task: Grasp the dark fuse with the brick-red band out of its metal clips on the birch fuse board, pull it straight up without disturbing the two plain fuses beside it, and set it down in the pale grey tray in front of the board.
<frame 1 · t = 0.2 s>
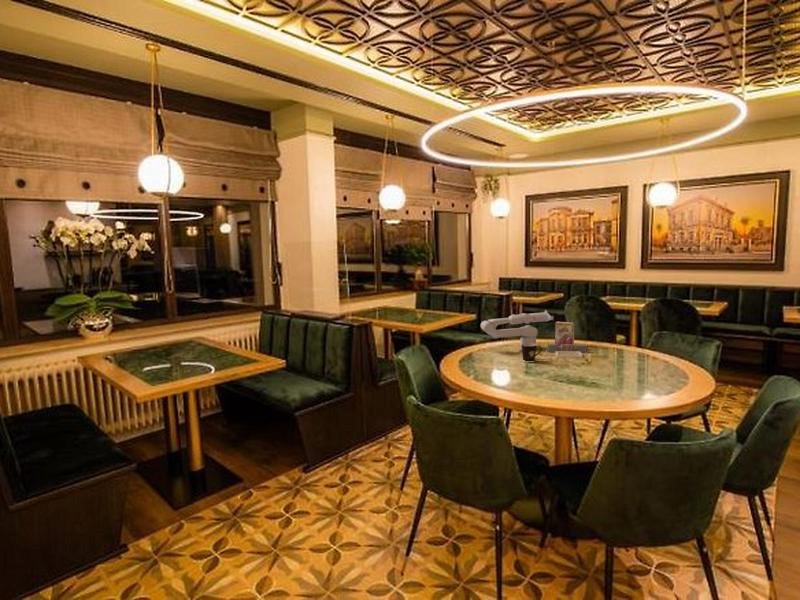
hand: (559, 315, 299), 21 cm above the table, tool horizontal, fingers open, 7 cm apart
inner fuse: (553, 351, 288), point 1 cm above the table, touching fuse board
marked fuse: (566, 352, 286), point 1 cm above the table, touching fuse board
candy bar box: (564, 347, 304), on the table
outer fuse: (580, 352, 285), point 1 cm above the table, touching fuse board
fuse board: (566, 353, 286), on the table
parts tray: (568, 357, 277), on the table
coffee mug: (531, 362, 270), on the table
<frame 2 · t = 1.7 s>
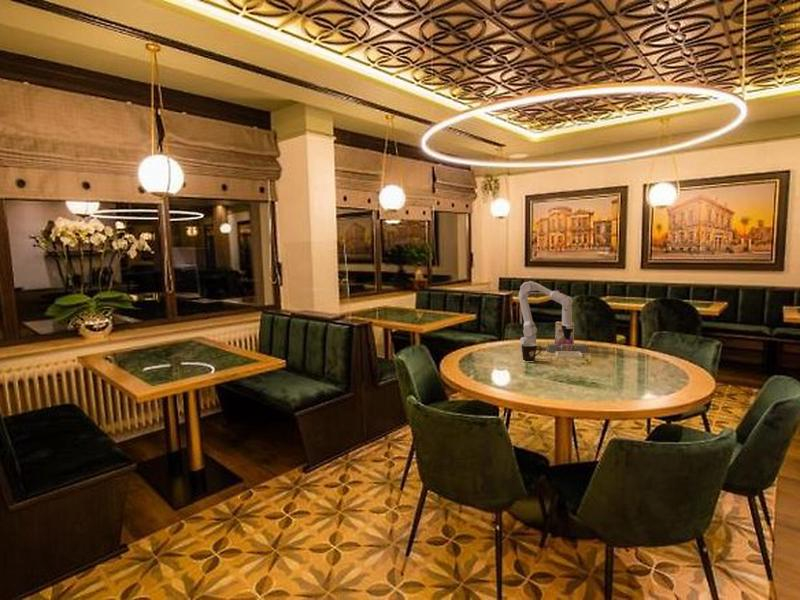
hand: (566, 338, 285), 10 cm above the table, tool pointing down, fingers open, 7 cm apart
nothing on the table moved.
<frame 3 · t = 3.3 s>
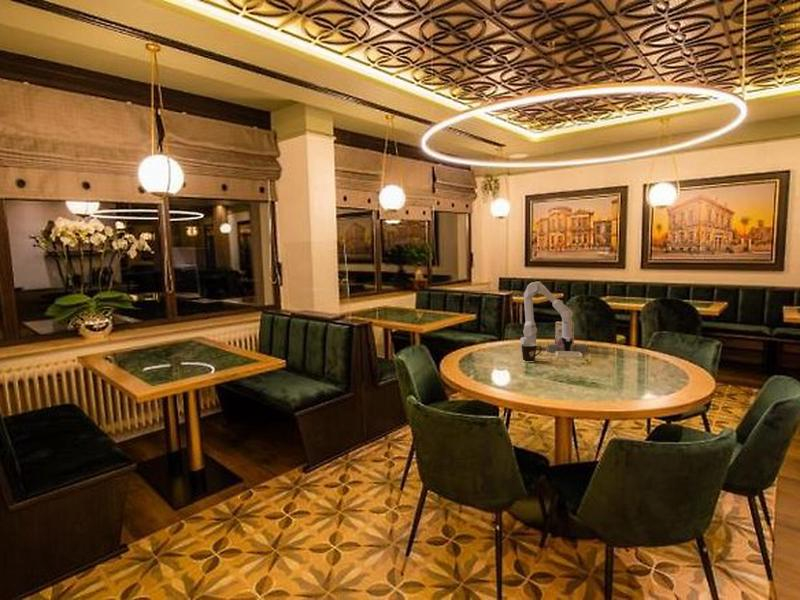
hand: (566, 350, 286), 2 cm above the table, tool pointing down, fingers closed on marked fuse, 4 cm apart
marked fuse: (566, 352, 286), point 1 cm above the table, touching fuse board, gripper
everything else where it was.
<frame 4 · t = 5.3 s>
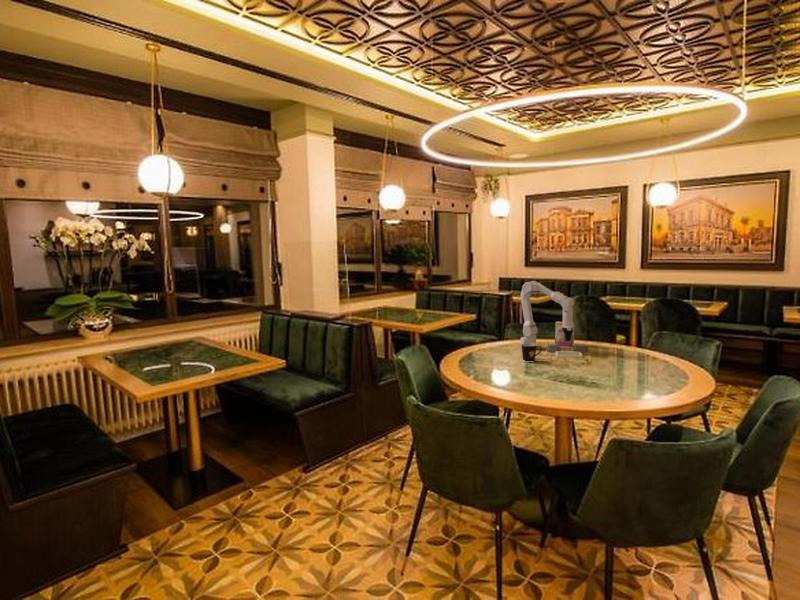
hand: (567, 340, 282), 9 cm above the table, tool pointing down, fingers closed on marked fuse, 4 cm apart
marked fuse: (567, 341, 283), point 8 cm above the table, touching gripper
everything else where it was.
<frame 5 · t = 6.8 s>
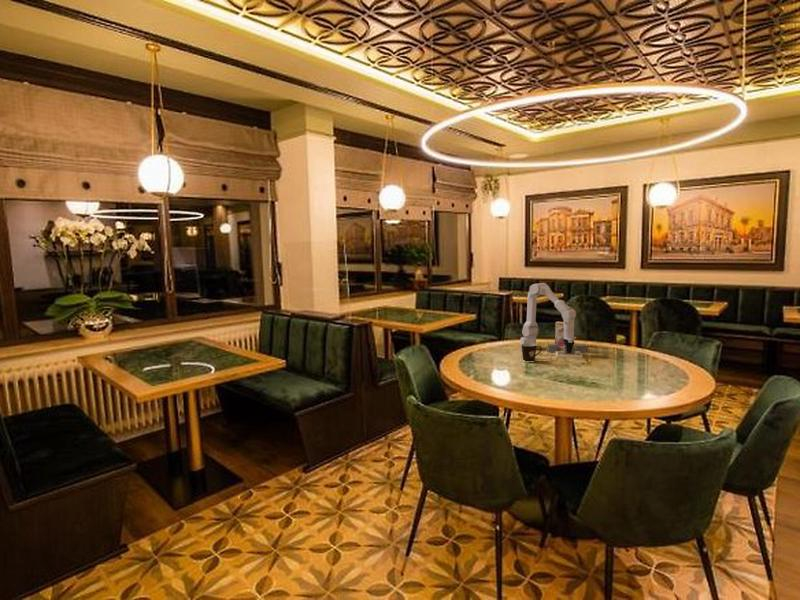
hand: (568, 352, 277), 3 cm above the table, tool pointing down, fingers closed on marked fuse, 4 cm apart
marked fuse: (568, 353, 277), point 2 cm above the table, touching gripper
everything else where it was.
when the fingers open (3 cm above the table, at t = 7.6 s): marked fuse drops 2 cm, resting on parts tray.
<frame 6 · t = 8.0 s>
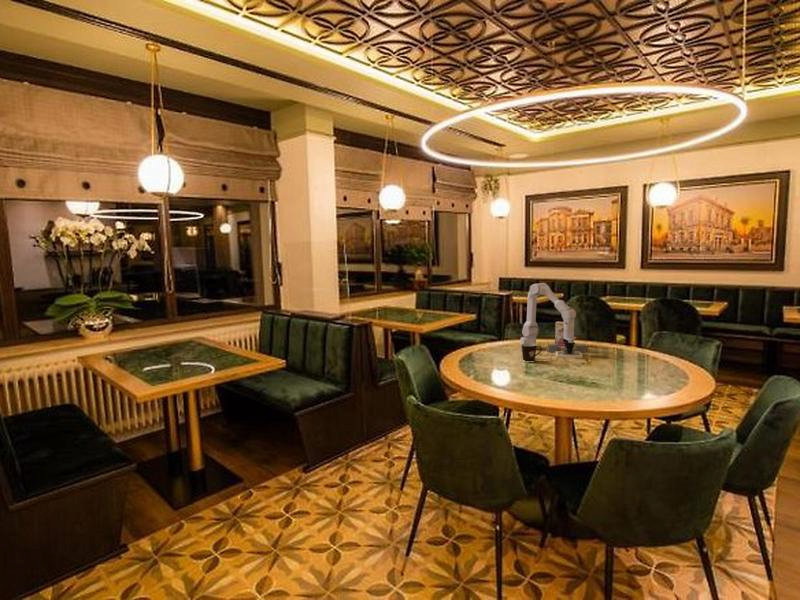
hand: (568, 352, 277), 3 cm above the table, tool pointing down, fingers open, 7 cm apart
marked fuse: (568, 356, 277), point 1 cm above the table, touching parts tray
everything else where it was.
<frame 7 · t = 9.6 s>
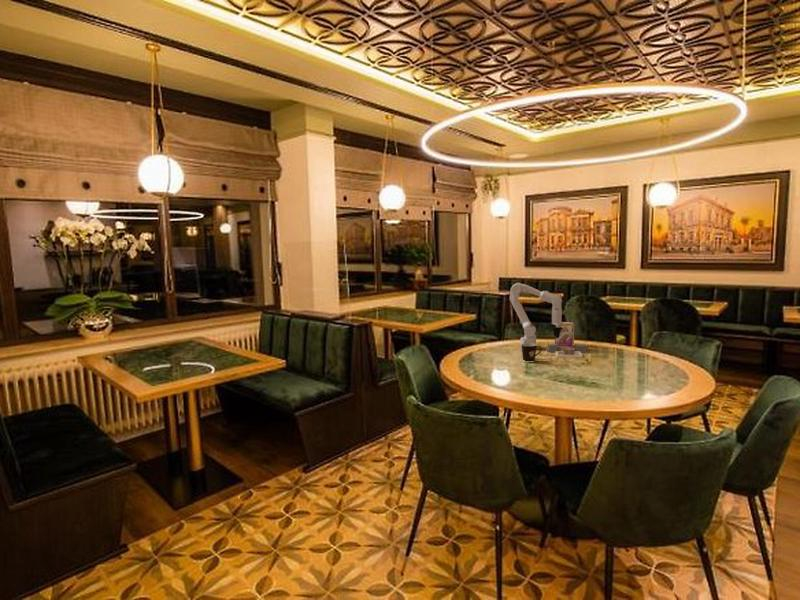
hand: (556, 336, 292), 9 cm above the table, tool pointing down, fingers open, 7 cm apart
nothing on the table moved.
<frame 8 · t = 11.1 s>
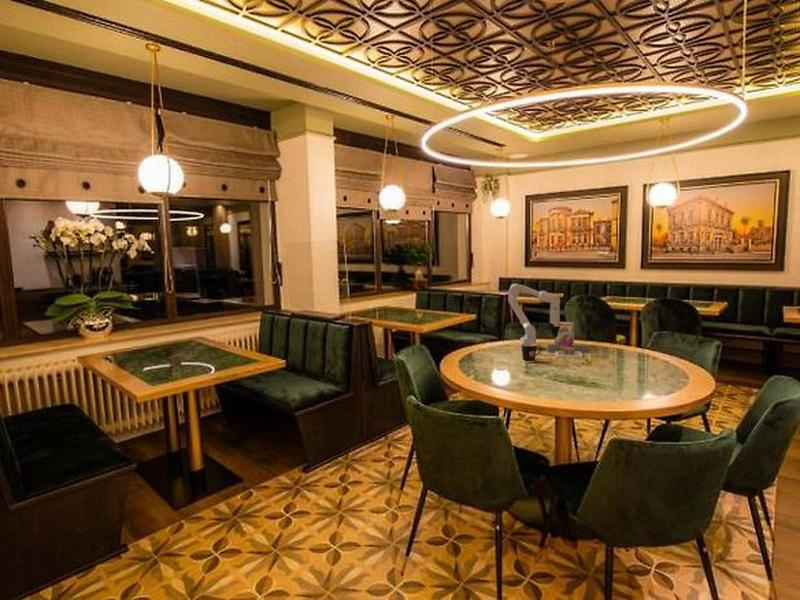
hand: (554, 335, 295), 9 cm above the table, tool pointing down, fingers open, 7 cm apart
nothing on the table moved.
at the end: marked fuse inside the target area on the parts tray (0.0 cm from its centre), point 0.6 cm above the parts tray's base; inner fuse moved 0.1 cm from its start; outer fuse moved 0.1 cm from its start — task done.
